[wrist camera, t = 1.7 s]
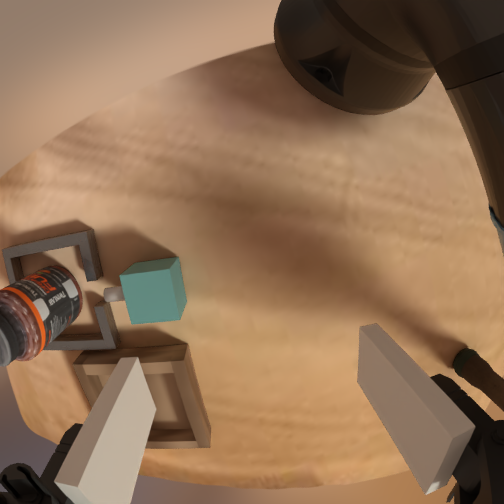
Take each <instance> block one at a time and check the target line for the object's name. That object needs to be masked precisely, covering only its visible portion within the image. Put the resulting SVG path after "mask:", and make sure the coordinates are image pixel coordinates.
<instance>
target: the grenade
mask: <svg viewBox="0 0 504 504" xmlns="http://www.w3.org/2000/svg"><path fill="white" fill-rule="evenodd" d="M453 366H454V369H455V372H456V373H457V374H458V376H460V377H462V378H464V379H465V380H466V381H467V382H469V383H470V384H471V385H472V386H474V387H476V388H478V389H480V390H481V391H482V392H483V393H485V394H486V395H487V396H488V397H489V398H490V399H491V400H492V401H493V402H494V403H495V404H497V406H499V407H500V408H501V409H502V410H503V411H504V379H503V378H502V377H500V376H499V375H498V374H497V373H496V372H494V371H493V369H492V368H491V367H490V365H489V364H488V363H487V362H486V361H485V360H484V359H482V358H481V357H480V356H479V354H478V353H477V352H476V351H474V350H473V349H464V350H462V351H461V352H460V353H459V354H458V355H457V356H456V358H455V360H454V364H453Z"/></svg>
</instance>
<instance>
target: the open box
mask: <svg viewBox="0 0 504 504" xmlns="http://www.w3.org/2000/svg"><path fill="white" fill-rule="evenodd" d="M128 357H138V359H139V362H140V365H141V368H142V371H143V374H144V377H145V379H146V382H147V385H148V388H149V391H150V393H151V396H152V399H153V401H154V404H155V407H156V412H155V415H154V419H153V422H152V426H151V429H150V432H149V436H148V439H147V443H146V447H145V448H150V449H187V448H210V441H211V427H210V423H209V420H208V417H207V413H206V410H205V406H204V403H203V399H202V396H201V392H200V388H199V385H198V381H197V377H196V373H195V369H194V366H193V362H192V358H191V354H190V350H189V345H188V344H181V345H169V346H157V347H142V348H125V349H102V350H84V351H83V352H82V353H81V354H80V356H79V357H78V358H77V359H76V361H75V362H74V363H73V364H72V365H73V367H74V370H75V372H76V374H77V377H78V379H79V381H80V384H81V386H82V388H83V390H84V393H85V395H86V397H87V399H88V401H89V403H90V405H91V407H93V406H94V404H95V402H96V400H97V398H98V397H99V395H100V393H101V391H102V390H103V388H104V386H105V384H106V383H107V381H108V379H109V377H110V376H111V374H112V372H113V371H114V369H115V367H116V365H117V364H118V362H119V360H120V359H121V358H128Z"/></svg>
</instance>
